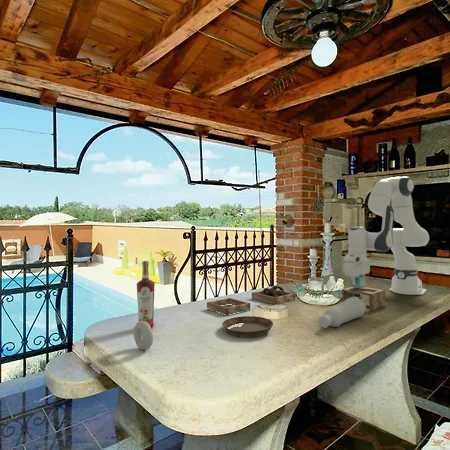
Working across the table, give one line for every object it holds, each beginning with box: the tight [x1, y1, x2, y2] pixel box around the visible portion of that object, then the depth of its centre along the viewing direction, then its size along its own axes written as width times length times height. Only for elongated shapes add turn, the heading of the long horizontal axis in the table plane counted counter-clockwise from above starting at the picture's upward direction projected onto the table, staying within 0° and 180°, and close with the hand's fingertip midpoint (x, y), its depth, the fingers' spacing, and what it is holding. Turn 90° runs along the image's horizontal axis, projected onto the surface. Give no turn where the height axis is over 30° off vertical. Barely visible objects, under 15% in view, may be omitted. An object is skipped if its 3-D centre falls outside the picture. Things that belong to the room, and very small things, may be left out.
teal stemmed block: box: [349, 275, 366, 300], centre depth 170 cm, size 5×5×12 cm
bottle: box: [318, 297, 367, 329], centre depth 139 cm, size 9×9×30 cm
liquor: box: [136, 260, 155, 329], centre depth 135 cm, size 7×7×28 cm
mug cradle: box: [251, 289, 296, 305], centre depth 183 cm, size 16×18×4 cm
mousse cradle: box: [206, 297, 251, 316], centre depth 162 cm, size 15×16×4 cm
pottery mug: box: [262, 285, 285, 297], centre depth 185 cm, size 12×10×8 cm
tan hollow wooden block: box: [341, 286, 386, 311], centre depth 167 cm, size 14×16×8 cm
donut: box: [133, 320, 154, 351], centre depth 111 cm, size 10×4×10 cm, turn 43°
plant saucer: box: [221, 315, 274, 338], centre depth 130 cm, size 21×21×3 cm
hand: (357, 283), depth 170 cm, fingers closed on teal stemmed block, 5 cm apart
